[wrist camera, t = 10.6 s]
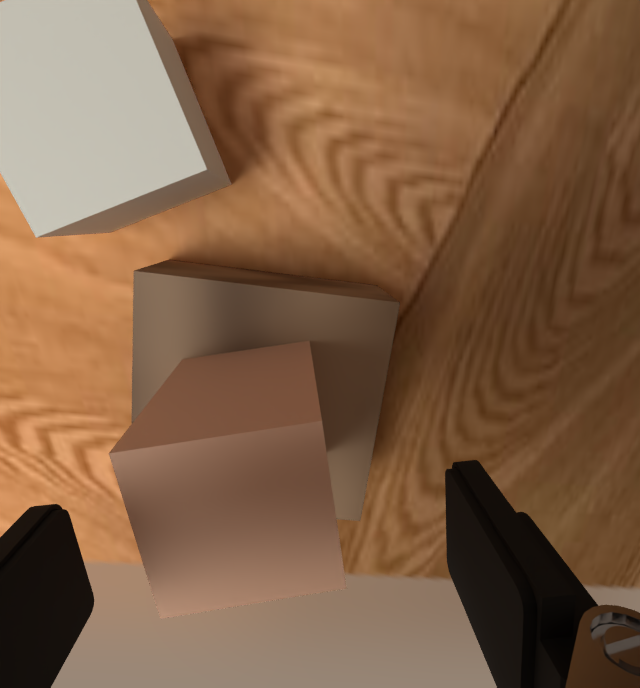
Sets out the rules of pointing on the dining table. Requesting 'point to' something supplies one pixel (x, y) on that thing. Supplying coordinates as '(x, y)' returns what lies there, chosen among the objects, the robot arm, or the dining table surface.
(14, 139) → the grey cube
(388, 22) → the dining table surface
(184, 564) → the terracotta block
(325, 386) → the walnut block
